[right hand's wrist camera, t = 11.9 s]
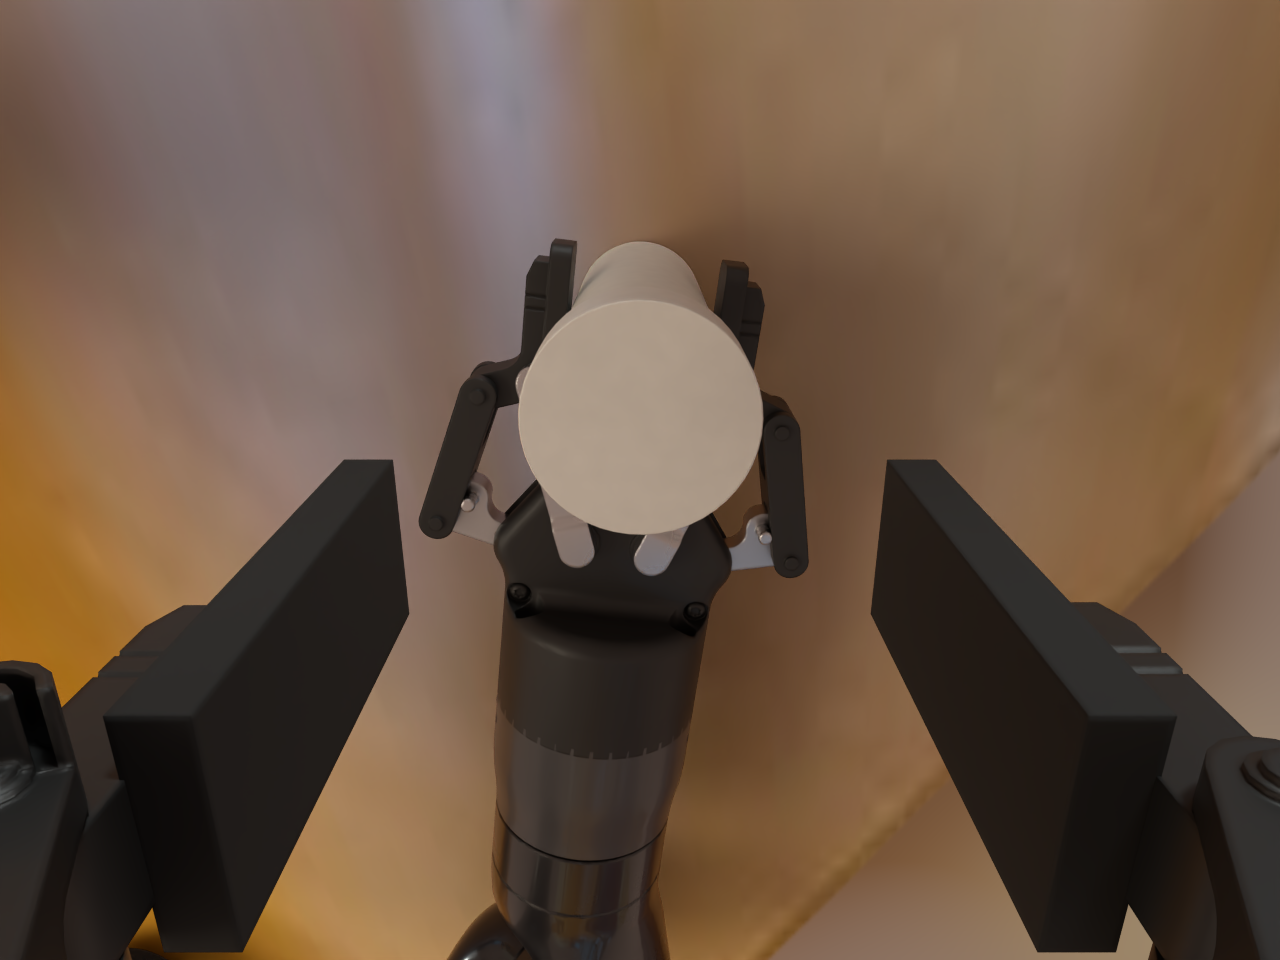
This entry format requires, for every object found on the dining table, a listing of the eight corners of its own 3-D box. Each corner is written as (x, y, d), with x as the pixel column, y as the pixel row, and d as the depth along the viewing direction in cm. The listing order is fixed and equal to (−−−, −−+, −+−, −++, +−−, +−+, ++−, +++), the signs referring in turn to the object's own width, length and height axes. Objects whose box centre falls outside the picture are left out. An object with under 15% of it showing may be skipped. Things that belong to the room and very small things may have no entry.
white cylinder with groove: (506, 307, 21) (494, 322, 19) (738, 268, 20) (748, 280, 19) (552, 518, 23) (544, 550, 21) (764, 486, 22) (775, 516, 21)
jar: (569, 252, 34) (516, 331, 20) (691, 231, 34) (731, 296, 19) (591, 371, 36) (558, 527, 21) (708, 352, 36) (756, 497, 21)
